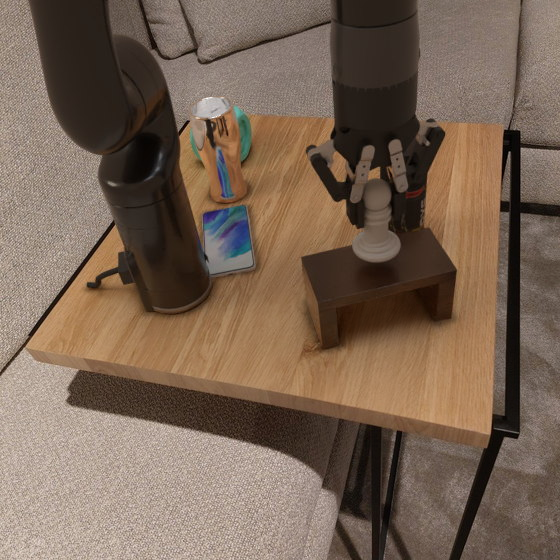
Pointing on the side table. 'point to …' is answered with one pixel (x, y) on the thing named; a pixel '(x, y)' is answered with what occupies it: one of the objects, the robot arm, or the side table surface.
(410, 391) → the side table surface
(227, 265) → the smartphone
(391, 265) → the shelf
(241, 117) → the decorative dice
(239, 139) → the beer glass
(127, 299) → the side table surface
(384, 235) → the chess piece
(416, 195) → the deodorant
